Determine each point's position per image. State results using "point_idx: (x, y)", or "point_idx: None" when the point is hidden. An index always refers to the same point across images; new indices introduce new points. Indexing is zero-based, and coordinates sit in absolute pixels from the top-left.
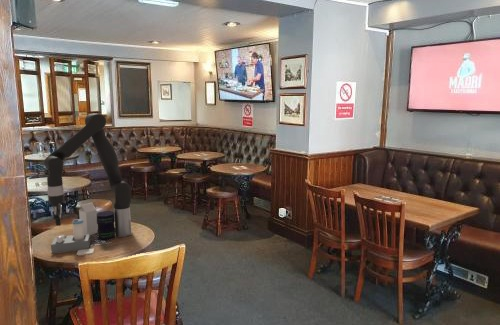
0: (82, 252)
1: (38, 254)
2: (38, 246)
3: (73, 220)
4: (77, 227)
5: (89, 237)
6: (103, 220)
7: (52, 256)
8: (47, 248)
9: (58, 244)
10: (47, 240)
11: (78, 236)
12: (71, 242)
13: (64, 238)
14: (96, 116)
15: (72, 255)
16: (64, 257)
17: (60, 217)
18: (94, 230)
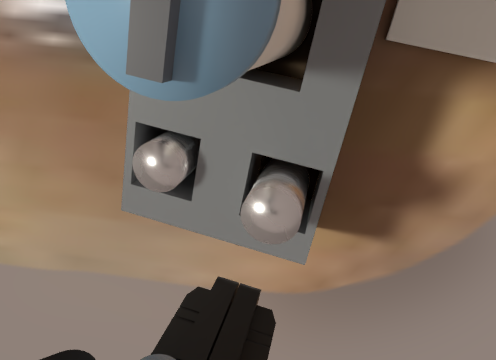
0: (481, 4)
1: (277, 292)
2: (132, 272)
3: (164, 78)
4: (281, 16)
5: None
6: None
7: (374, 229)
8: (192, 235)
9: (321, 210)
10: (44, 215)
11: (298, 17)
12: (354, 101)
13: (183, 145)
14: None
15: (459, 96)
16: (460, 159)
17: None
18: None
